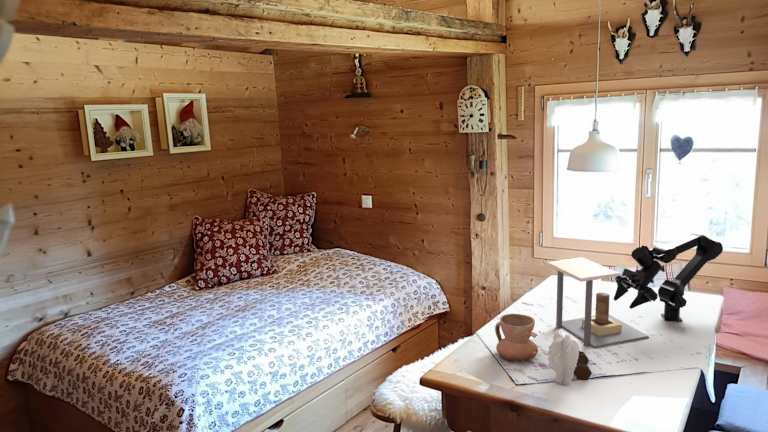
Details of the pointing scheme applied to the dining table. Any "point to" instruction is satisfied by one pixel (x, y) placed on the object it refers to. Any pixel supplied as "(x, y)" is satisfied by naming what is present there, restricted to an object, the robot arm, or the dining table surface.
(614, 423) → the dining table surface
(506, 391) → the dining table surface
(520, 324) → the ceramic jug
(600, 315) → the walnut peg
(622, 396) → the dining table surface
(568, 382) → the shell sculpture
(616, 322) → the socket stand
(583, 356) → the bolt
